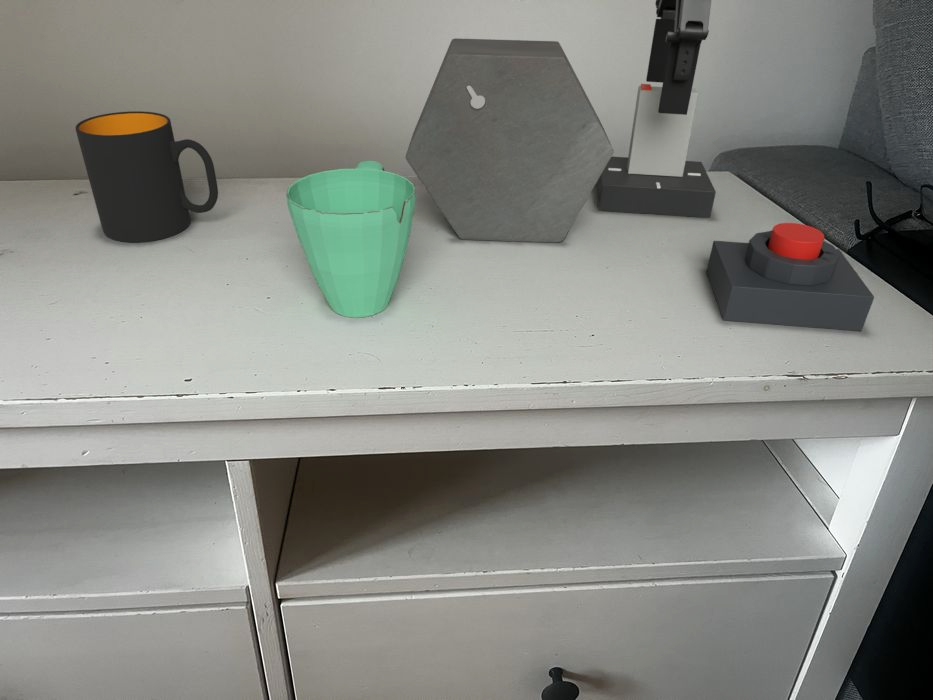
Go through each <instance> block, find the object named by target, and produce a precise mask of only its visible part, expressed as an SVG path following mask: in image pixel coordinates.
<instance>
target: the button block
mask: <svg viewBox="0 0 933 700" xmlns="http://www.w3.org/2000/svg"><path fill="white" fill-rule="evenodd" d="M771 234H772V230H767V231H761V232H757V233H755V234H754V235H753V236H752V237H751V238H750V239H749V240H748V242H741V241H740V242H738V241H725V240H713V241H712V245H711V250H710V254H709V259H708V262H707V263H708V264H707V267H706V275H707V277H708V281H709V283H710V286H711V288H712V292H713V294H714V297H715V300H716V303H717V306H718V309H719V312H720V314H721V317H722V320H723V321H727V322H738V323H739V322H740V323H751V324H753V323H754V324H763V325H764V324H766V325H778V326H791V327H803V328H814V329H815V328H818V329H830V330H842V331H854V332H862V331H863V329H864V325H865V323H866V320H867V319H868V315H869V312H870V310H871V307H872V305H873V302H874V299H875V296H874V294H873V293H872V291H871V290H870V289H869V288H868V286H867V285H866V283H865V282H864V280H862V278H861V276H860V275H859V274H858V273H857V271H856V270H855V269H854V267H853V266H852V265H851V263H850V261H849V260H847V259H848V258H846V257H845V255H844V254H843V252H842V251H841V250H840V249H839V248H836V247H835V246H834V245H833V244H831V243H829V242H826V241H825V240H824V241H823V244H822V247H821V250H820V253H819V256H818V258H816V259H811V260H805V259H793V258H789V257H785V256H782V255H778V254H776V253H774V252H773V251H771V250H769V249H768V245H769V241H770V237H771Z"/></svg>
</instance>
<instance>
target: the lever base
mask: <svg viewBox="0 0 933 700" xmlns="http://www.w3.org/2000/svg"><path fill="white" fill-rule="evenodd" d="M627 162H628V156H625V157H624V156H612V157H611V158H610V160H609V162H608V163H607V165H606V167H605V169H604V170H603V172H602V174H601V176H600V177H599V179H598V181H597V183H596V194H597V204H598V211H601V212H614V213H615V212H616V213H629V214H643V215H644V214H645V215H646V214H647V215H660V216H677V217H678V216H679V217H692V218H705V219H706V218H707V219H710V218H711V216H712V211H713V206H714V202H715V197H716V194H717V191H716V189H715V187H714V185H713V183H712V181H711V179H710V176H709V175H708V172H707V171H706V169H705V165H704V164H703V162H702V161H696V160H686V161H685V167H684V172H683V177H676V176H660V175H643V174H628V171H627Z"/></svg>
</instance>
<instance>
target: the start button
mask: <svg viewBox="0 0 933 700" xmlns="http://www.w3.org/2000/svg"><path fill="white" fill-rule="evenodd" d="M771 231H772V234H771V237H770V241H769V245H768V249H769V250H771V251H773V252H774V253H776V254H778V255H782V256H785V257H789V258H793V259H805V260H811V259H816V258H818V256H819V253H820V250H821V247H822V244H823V241H825V234H824V233H823V232H822V231H821V230H819V229H817V228H816V227H813V226H810V225H806V224H803V223H798V222H782V223H777V224H775V225H774V226H773V227H772V230H771Z"/></svg>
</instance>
